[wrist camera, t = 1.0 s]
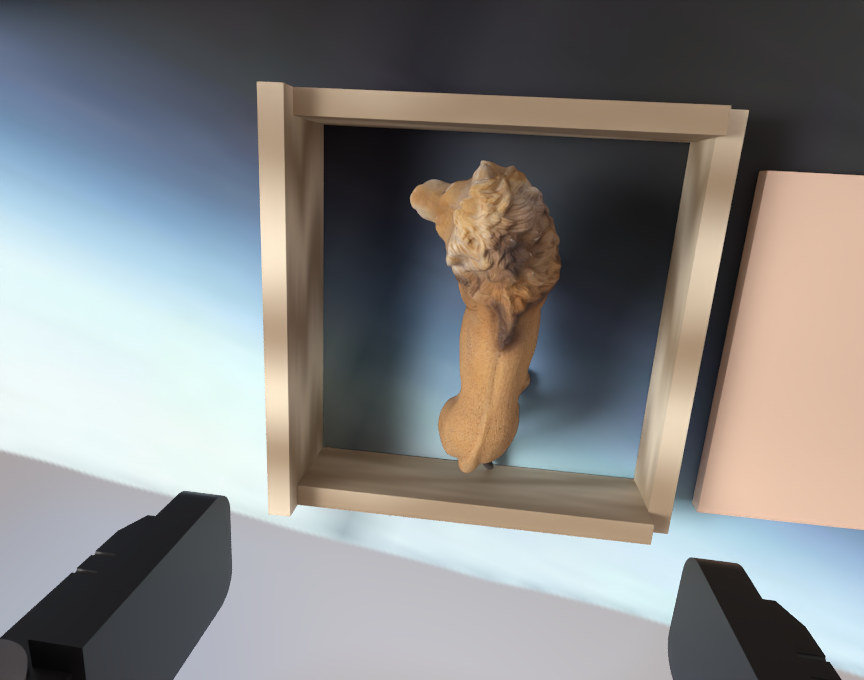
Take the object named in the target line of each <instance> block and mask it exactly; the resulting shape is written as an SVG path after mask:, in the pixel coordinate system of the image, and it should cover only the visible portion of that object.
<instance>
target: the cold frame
mask: <svg viewBox="0 0 864 680" xmlns="http://www.w3.org/2000/svg"><path fill="white" fill-rule="evenodd" d="M257 106H258V143H259V180H260V217H261V253H262V290H263V327H264V364H265V401H266V437H267V474H268V511H269V514H272V515H281V516H289V517H290V516H291V514H292V513H293V511H294V510H295V508H296V506H297V505H306V506H315V507H324V508H332V509H341V510H350V511H359V512H367V513H376V514H385V515H394V516H403V517H411V518H420V519H429V520H438V521H447V522H455V523H464V524H473V525H482V526H491V527H499V528H508V529H517V530H526V531H534V532H543V533H552V534H561V535H570V536H578V537H587V538H596V539H605V540H614V541H622V542H631V543H640V544H649V545H651V540H652V535H653V532H655V533H664V534H668V530H669V525H670V520H671V514H672V509H673V504H674V499H675V494H676V488H677V483H678V478H679V473H680V467H681V462H682V457H683V452H684V447H685V441H686V436H687V431H688V426H689V421H690V415H691V410H692V405H693V400H694V395H695V389H696V384H697V379H698V374H699V369H700V363H701V358H702V353H703V348H704V342H705V337H706V332H707V327H708V322H709V316H710V311H711V306H712V301H713V296H714V290H715V285H716V280H717V275H718V270H719V264H720V259H721V254H722V249H723V244H724V238H725V233H726V228H727V223H728V218H729V212H730V207H731V202H732V197H733V191H734V186H735V181H736V176H737V171H738V165H739V160H740V155H741V150H742V145H743V139H744V134H745V129H746V124H747V119H748V113H749V110H735V109H731V105H708V104H684V103H660V102H637V101H613V100H589V99H566V98H542V97H518V96H495V95H471V94H448V93H424V92H400V91H377V90H353V89H329V88H306V87H292V86H290V85H287V84H285V83H280V82H257ZM324 125H338V126H359V127H380V128H400V129H421V130H441V131H462V132H483V133H503V134H524V135H545V136H565V137H586V138H606V139H627V140H648V141H668V142H689V143H690V148H689V154H688V160H687V166H686V171H685V177H684V183H683V189H682V195H681V201H680V207H679V213H678V219H677V225H676V231H675V237H674V243H673V249H672V255H671V261H670V267H669V273H668V278H667V284H666V290H665V296H664V302H663V308H662V314H661V320H660V326H659V332H658V338H657V344H656V350H655V356H654V362H653V368H652V374H651V380H650V385H649V391H648V397H647V403H646V409H645V415H644V421H643V427H642V433H641V439H640V445H639V451H638V457H637V463H636V469H635V475H634V479H629V478H619V477H609V476H600V475H590V474H580V473H571V472H561V471H551V470H542V469H532V468H522V467H513V466H503V465H493V466H494V468H493V469H487V468H485V467H484V466H483V464H480V465H478V467H477V468H476V469H475V470H474V471H472V472H470V473H464V472H462V471H461V470H460V468H459V465H458V461H455V460H445V459H435V458H426V457H416V456H406V455H397V454H387V453H377V452H368V451H358V450H348V449H339V448H329V447H323V262H324Z"/></svg>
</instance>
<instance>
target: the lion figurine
mask: <svg viewBox="0 0 864 680" xmlns="http://www.w3.org/2000/svg"><path fill="white" fill-rule="evenodd" d="M410 203H411V205H412V207H413V208H414V209H416V210H417V212H418V214H419V215H420V216H421V217H422V218H424V219H426V220H429V221H432V222H434V223H436V230H437V232H438V234H439V235H440V237H441V238H442V239H443V240H444V241H445V243H446V251H447V255H446V262H447V265H448V266H451V267H452V270H453V273H454V274H455V277H456V279H457V281H458V282H459V290H460V293H461V296H462V299H463V301H464V303H465V304H466V310H465V313H464V316H463V321H462V326H461V332H460V376H461V391H460V393H459V394H458V395H457V396H455V397H452V398H450V399H449V400H448V401H447V402H446V403H445V405H444V407H443V408H442V410H441V413H440V416H439V423H438V429H439V434H440V438H441V442H442V445H443V448H444V450H445V451H446V453H447V454H449V455H450V456H453V457H456V458H458V465H459V468H460V470H461V471H462V472H464V473H470V472H472V471H474V470H475V469H476V468H477V467H478V465H480V464H483V466H484V467H485V468H487V469H493V468H494V466H493V463H492V461H494V460H496V459H498V458H499V457H500V456H502V455H503V453H504V452H505V451H506V450H507V448H508V447H509V446H510V444H511V443H512V441H513V439H514V437H515V435H516V432H517V428H518V423H519V403H518V398H519V395H520V394H521V393H522V392H523V391H524V390H525V388H526V387H527V386H528V385H529V383H530V375H529V373H528V372H527V371H528V368H529V365H530V362H531V359H532V357H533V354H534V351H535V347H536V343H537V338H538V333H539V326H540V313H541V307H542V305H543V304H544V302H545V301H546V298H547V295H548V294H549V293H550V292H551V290H552V289H553V288H554V286H555V285H556V283H557V281H558V280H559V278H560V268H561V259H560V256H559V249H558V245H559V243H560V239H559V236H558V235H557V233H556V231H555V227H554V223H553V218H552V217H551V216H549V209H548V208H547V206H546V204H544V203H543V195H542V193H541V192H540V191H539V190H538V189H537V188H536V187H532V186H531V184H530V182H529V181H528V179H527V178H526V177H525V175H524V173H521V172H519V171H518V170H517V169H516V168H515V167H514V166H509V167H506V168H504V167H502V166H498V165H496V164H495V163H492V162H489V161H481V165H480V166H479V168H478V169H477V170H476V171H475V173H474V174H473V177H472V178H470V179H468V180H465V181H456V182H454V183H452V184H449V183H445V182H443V181H441V180H437V179H432V180H429V181H427V182H425V183H424V184H422V185H419V186H417V187H416V188H415V189H414V190H413V192H412V194H411V196H410Z"/></svg>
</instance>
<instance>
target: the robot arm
mask: <svg viewBox="0 0 864 680" xmlns="http://www.w3.org/2000/svg"><path fill="white" fill-rule="evenodd" d="M231 574H232V555H231V524H230V504H229V501H228V499H227V497H225V496H221V495H213V494H205V493H197V492H190V491H183V492H181V493H179V494H178V495H177V496H176V497H175V498H174V499H173V500H172V501H171V502H170V503H169V504H168V505H167V506H166V507H165V508H164V509H163V510H161V511H160V512H159V513H158V514H157V515H156V516H149V515H147V516H145V517H144V518H142V519H140V520H138V521H136V522H134V523H132V524H130V525H128V526H127V527H125V528H122V529H121V530H119V531H117V532H116V533H115V534H114V535H113V536H112V537H111V538H110V539H108V540H107V541H106V542H105V543H104V544H103V545H102V546H101V547H100V548H98V549H97V550H96V553H95V555H91V556H90V557H89V558H88V559H86V560H85V561H84V562H83V563H82V564H81V565H80V566H79V567H78V568H77V571H76V572H75V573H71V574H70V575H69V576H68V577H67V578H65V579H64V580H63V581H62V582H61V583H60V584H59V585H58V586H57V587H56V588H54V589H53V590H52V591H51V592H50V593H49V594H48V595H47V596H46V597H45V598H43V599H42V600H41V601H40V602H39V603H38V604H37V605H36V606H35V607H33V609H31V610H30V611H29V612H28V613H27V614H26V615H25V616H24V617H22V618H21V619H20V620H19V621H18V622H17V623H16V624H15V625H14V626H13V627H12V628H10V629H9V630H8V631H7V632H6V633H5V634H4V635H3V636H2V637H1V638H0V680H173V679H174V677H175V676H176V674H177V673H178V671H179V670H180V668H181V667H182V665H183V664H184V662H185V661H186V659H187V658H188V656H189V655H190V653H191V652H192V650H193V649H194V647H195V646H196V644H197V643H198V641H199V640H200V638H201V636H202V635H203V634H204V632H205V631H206V629H207V627H208V626H209V625H210V623H211V621H212V620H213V619H214V617H215V616H216V614H217V612H218V611H219V609H220V608H221V606H222V604H223V602H224V600H225V598H226V595H227V593H228V589H229V585H230V581H231ZM668 657H669V664H670V670H671V674H672V677H673V680H841V678H840V677H839V675H838V674H837V672H836V671H835V669H834V668H833V666H832V665H831V664H830V662H826V660H825V655H824V653H823V652H822V650H821V649H820V647H819V646H818V644H817V643H816V642H815V640H814V639H813V637H812V636H811V634H810V633H809V631H808V630H807V628H806V627H805V626H804V625H803V624H802V623H800V622H799V621H798V620H797V619H796V618H795V617H793V616H792V615H791V614H790V613H789V612H788V611H786V610H785V609H784V608H783V607H782V606H781V605H780V604H778V603H777V602H776V601H773V600H765V599H762V598H761V596H760V594H759V593H758V591H757V590H756V588H755V586H754V585H753V583H752V582H751V580H750V578H749V577H748V575H747V574H746V572H745V570H744V569H743V568H742V566H740V565H739V564H737V563H730V562H722V561H715V560H707V559H699V558H689V559H688V560H687V561H686V562H685V565H684V568H683V572H682V576H681V581H680V585H679V590H678V594H677V599H676V603H675V608H674V612H673V617H672V621H671V626H670V631H669V637H668Z"/></svg>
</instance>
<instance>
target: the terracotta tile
mask: <svg viewBox="0 0 864 680" xmlns="http://www.w3.org/2000/svg"><path fill="white" fill-rule="evenodd" d="M692 504H693V506H694V507H695V509H696V511H697V512H702V513H711V514H720V515H730V516H739V517H748V518H757V519H767V520H776V521H785V522H795V523H804V524H813V525H822V526H832V527H841V528H850V529H860V530H864V176H861V175H842V174H823V173H804V172H785V171H759V175H758V180H757V185H756V189H755V194H754V199H753V204H752V209H751V214H750V219H749V224H748V229H747V234H746V239H745V244H744V249H743V254H742V259H741V264H740V269H739V274H738V279H737V284H736V288H735V293H734V298H733V303H732V308H731V313H730V318H729V323H728V328H727V333H726V338H725V343H724V348H723V353H722V358H721V363H720V368H719V373H718V378H717V383H716V387H715V392H714V397H713V402H712V407H711V412H710V417H709V422H708V427H707V432H706V437H705V442H704V447H703V452H702V457H701V462H700V467H699V472H698V477H697V482H696V486H695V491H694V496H693V501H692Z"/></svg>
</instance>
